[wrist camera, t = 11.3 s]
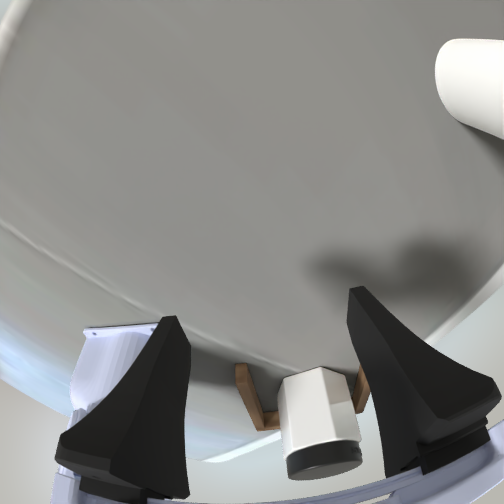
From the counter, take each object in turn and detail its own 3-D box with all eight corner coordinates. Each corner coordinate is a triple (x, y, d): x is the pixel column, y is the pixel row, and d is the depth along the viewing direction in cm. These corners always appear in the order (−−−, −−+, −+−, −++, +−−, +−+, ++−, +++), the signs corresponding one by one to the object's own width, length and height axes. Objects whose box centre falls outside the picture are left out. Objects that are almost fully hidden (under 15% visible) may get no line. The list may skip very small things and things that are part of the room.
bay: (256, 416, 38) (257, 431, 36) (235, 364, 29) (235, 383, 27) (358, 398, 37) (362, 412, 35) (374, 339, 29) (381, 356, 27)
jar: (329, 399, 36) (345, 475, 26) (272, 402, 35) (280, 483, 25) (352, 363, 31) (378, 453, 21) (285, 366, 30) (299, 467, 20)
